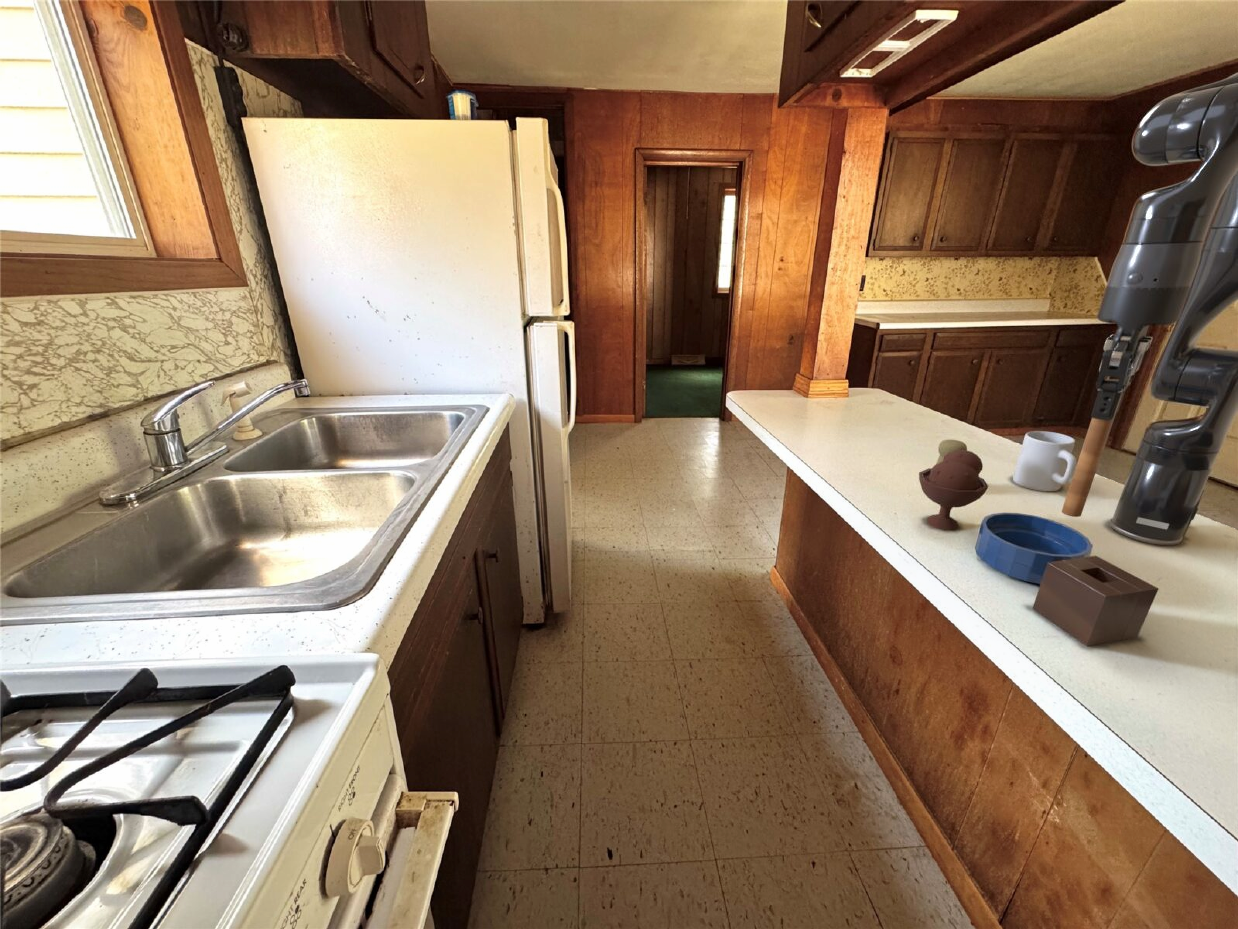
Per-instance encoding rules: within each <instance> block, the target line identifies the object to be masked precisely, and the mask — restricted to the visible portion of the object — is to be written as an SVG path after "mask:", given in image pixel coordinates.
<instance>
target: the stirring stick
mask: <svg viewBox="0 0 1238 929" xmlns="http://www.w3.org/2000/svg"><path fill="white" fill-rule="evenodd" d="M1107 380H1109V381H1119V379H1107ZM1125 386H1126V385H1125ZM1122 394H1123V393H1122ZM1122 394H1121V397H1122ZM1121 397H1120V400H1121ZM1120 400H1119V403H1120ZM1119 403H1118V406H1119ZM1118 406H1117V409H1118ZM1117 409H1116V412H1117ZM1116 412H1115V415H1114V417H1113V418H1112V419H1111V420H1101V419H1095V418H1092V417H1091V420H1090V423H1089V426H1088V429H1087V432H1086V435H1085V438H1084V440H1083V445H1082V447H1081V449H1080V450H1081V451H1080V454H1079V457H1078V460H1077V462H1076V469H1075V472H1074V475H1073V477H1072V479H1071V480H1070V485H1069V488H1068V490H1067V494H1066V497H1065V500H1064V502H1063V506H1062V508H1061V513H1062V514H1064V515H1066V516H1068V517H1072V518H1080V517H1081V516H1082V514H1083V512H1084V508H1085V506H1086V503H1087V500H1088V496H1089V494H1090V490H1091V488H1092V484H1093V483H1094V479H1095V476H1096V473H1097V470H1098V467H1099V465H1100V462H1101V459H1102V456H1103V452H1104V449H1105V447H1106V444H1107V441H1108V438H1109V435H1110V433H1111V430H1112V426H1113V423H1114V420H1115V417H1116V415H1117V414H1116Z"/></svg>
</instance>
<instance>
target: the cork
mask: <svg viewBox="0 0 1238 929" xmlns="http://www.w3.org/2000/svg"><path fill="white" fill-rule="evenodd" d="M937 449H938V454H939V455H938V458H937V460H936V463H935V465H936V464H938V463H940V462H943V459H944V457H945V455H947V454H948V453H950V452H952V451H956V450H967V451H968V446H967V444H966V443H965V442H964V441H961V440H957V439H944V440H942V441H940V443H939V444H938V448H937Z"/></svg>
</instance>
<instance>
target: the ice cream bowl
mask: <svg viewBox="0 0 1238 929" xmlns="http://www.w3.org/2000/svg"><path fill="white" fill-rule="evenodd" d="M983 467H984V466H983V462H982V459H981V457H980V456H978V454H976V453H974V452H973V451H970V450H968V449H967V450H956V451H952V452H950V453H948V454H947V455H945V457H944V459H943V462H940V463H938V464H936V463H935V464H934V465H933V466H932V467H929V468H926V469H924V470H921V471H920V472H918V479H919V484H920V487H921V489H922V492H923V494H924V496H926V497H927V498H928V499H929V500H931V502H933V503H935V504H937V505H939V506H940V508H939V512H938V513H937V514H931V515H929V516H927V517H926V518H925V522H926V524H927V525H929V526H930V527H932V528H934V529H937V530H941V531H944V532H945V531H946V532H947V531H949V532H951V531H953V532H954V531H956V530H958V529H960V525H959V522H958V521H957V520H956V519H954V518H953V517H952V516H951V511H952V510H953V508H963V507H966V506H968V505H971V504H972V503H974V502H976V501H978V500H979V499H981V498H982V497H983V496H984V495H985V494H986V492H987V490H988V489H989V485H988V484H987V482H986V480H985V479H984V478H982V477H980V473H981V472H982V470H983Z"/></svg>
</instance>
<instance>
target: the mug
mask: <svg viewBox="0 0 1238 929" xmlns="http://www.w3.org/2000/svg"><path fill="white" fill-rule="evenodd" d="M1075 444H1076V440H1075V439H1074V438H1073V437H1071V436H1070V435H1066V434H1062V433H1058V432H1052V431H1047V430H1046V431H1045V430H1033V431H1027V432H1026V433H1025V435H1024V438H1023V441H1022V445H1021V448H1020V451H1019V455H1018V458H1017V463H1016V466H1015V469H1014V472H1013V476H1012V481H1013V482H1014V483H1015V484H1016V485H1018V486H1020V487H1023V488H1026V489H1030V490H1033V491H1040V492H1055V491H1059V490H1061V488H1062V485H1064V484H1065V485H1066V484H1068V483H1070V482H1071V481H1072V478H1073V475H1074V472H1075V469H1076V466H1077V458H1076V456H1075V455H1073V451H1074V447H1075Z"/></svg>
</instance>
